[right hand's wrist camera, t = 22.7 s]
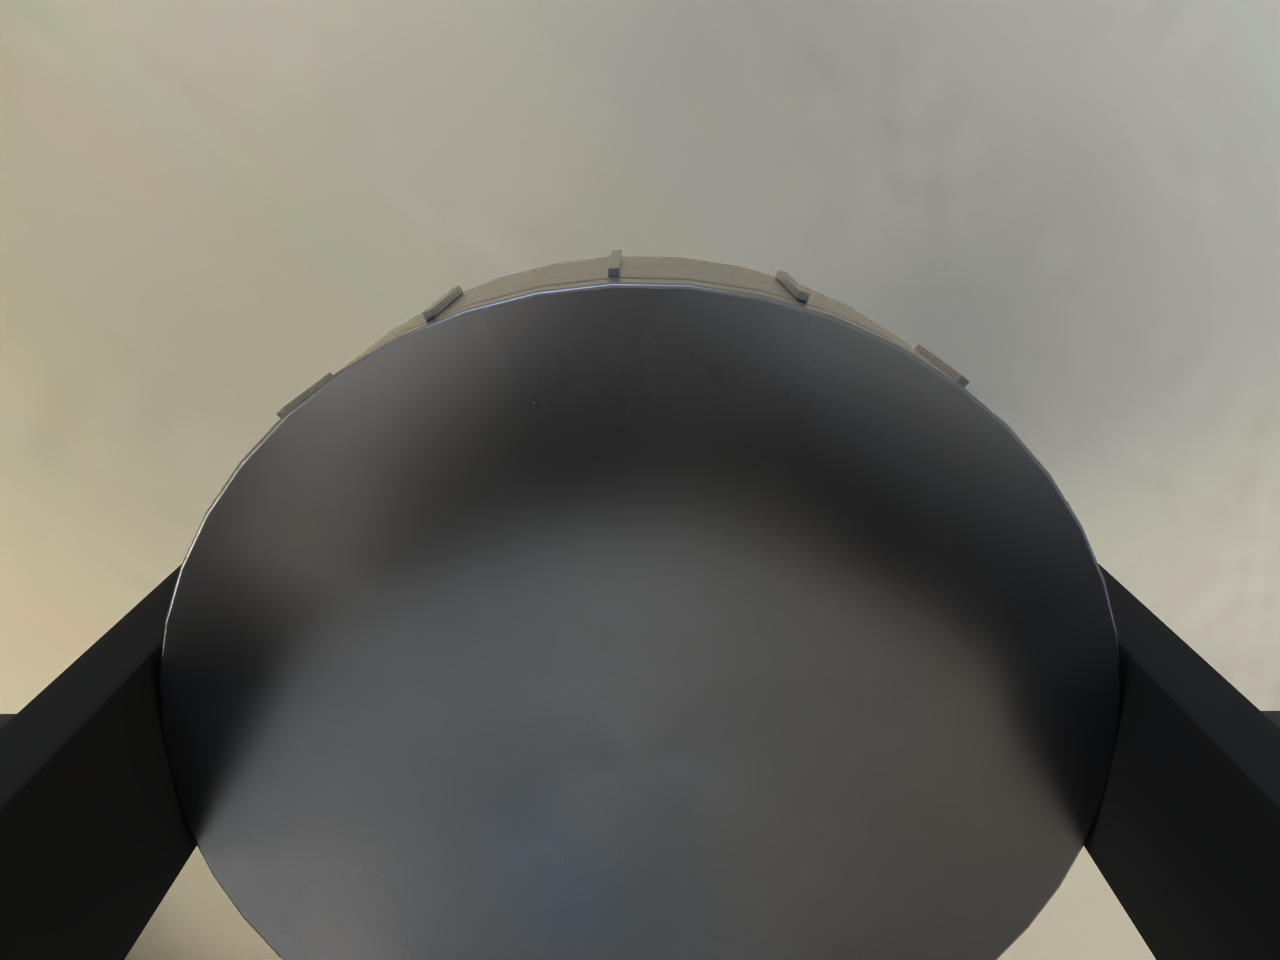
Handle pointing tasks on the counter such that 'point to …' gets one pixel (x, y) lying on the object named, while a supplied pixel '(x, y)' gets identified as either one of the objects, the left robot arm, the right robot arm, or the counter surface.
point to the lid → (640, 640)
